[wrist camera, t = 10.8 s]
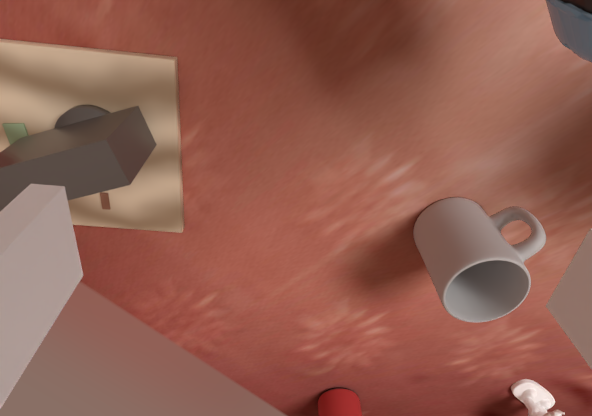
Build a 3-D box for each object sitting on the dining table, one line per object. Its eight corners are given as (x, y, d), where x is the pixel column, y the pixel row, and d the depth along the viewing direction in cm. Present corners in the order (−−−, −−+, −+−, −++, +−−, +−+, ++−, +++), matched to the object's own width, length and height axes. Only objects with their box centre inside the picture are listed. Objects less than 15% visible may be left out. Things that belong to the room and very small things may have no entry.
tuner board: (-28, 35, 37) (-39, 38, 36) (177, 57, 39) (173, 60, 37) (22, 214, 47) (15, 221, 46) (184, 226, 49) (181, 233, 47)
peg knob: (136, 89, 39) (98, 124, 31) (165, 150, 42) (137, 197, 34) (-8, 129, 40) (-78, 172, 33) (31, 185, 44) (-25, 237, 36)
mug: (436, 267, 52) (468, 335, 43) (398, 225, 49) (424, 290, 40) (526, 213, 48) (583, 276, 39) (491, 163, 45) (545, 219, 36)
